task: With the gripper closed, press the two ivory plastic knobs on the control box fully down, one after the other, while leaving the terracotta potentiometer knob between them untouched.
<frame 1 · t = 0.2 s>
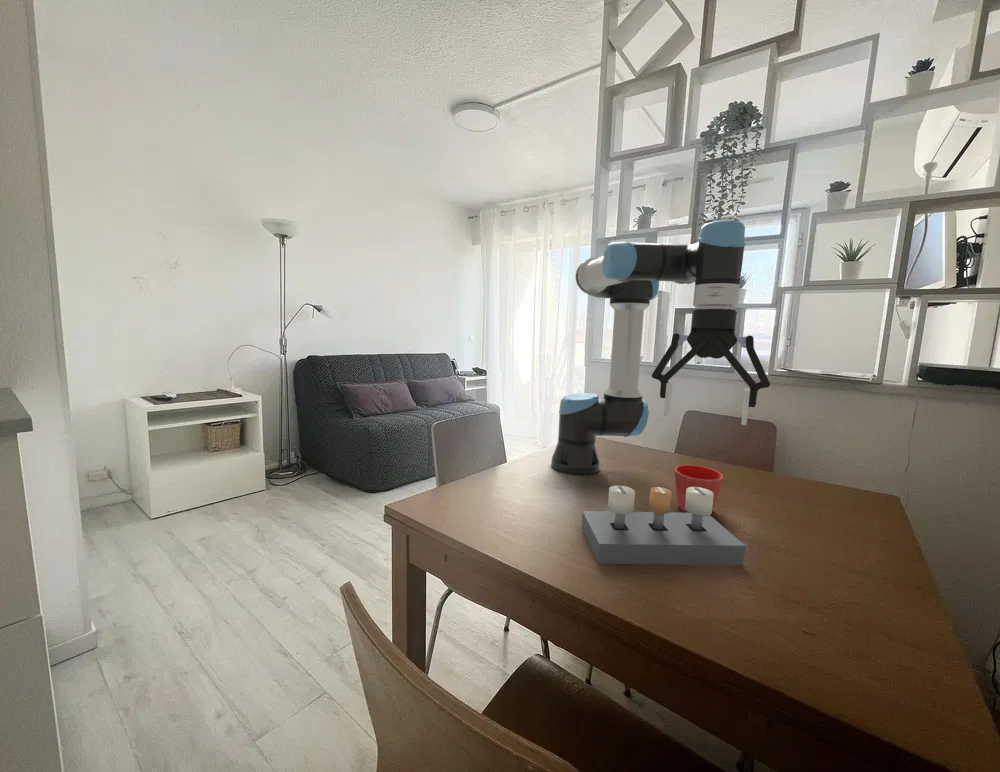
hand: (703, 419, 82), 27 cm above the table, fingers open, 13 cm apart
knob 2: (698, 509, 86), point 8 cm above the table, slide at 0.0 cm
flower pot: (694, 509, 105), on the table
knob 1: (620, 508, 85), point 8 cm above the table, slide at 0.0 cm
pot knob: (659, 508, 86), point 8 cm above the table, slide at 0.0 cm
control box: (656, 545, 87), on the table
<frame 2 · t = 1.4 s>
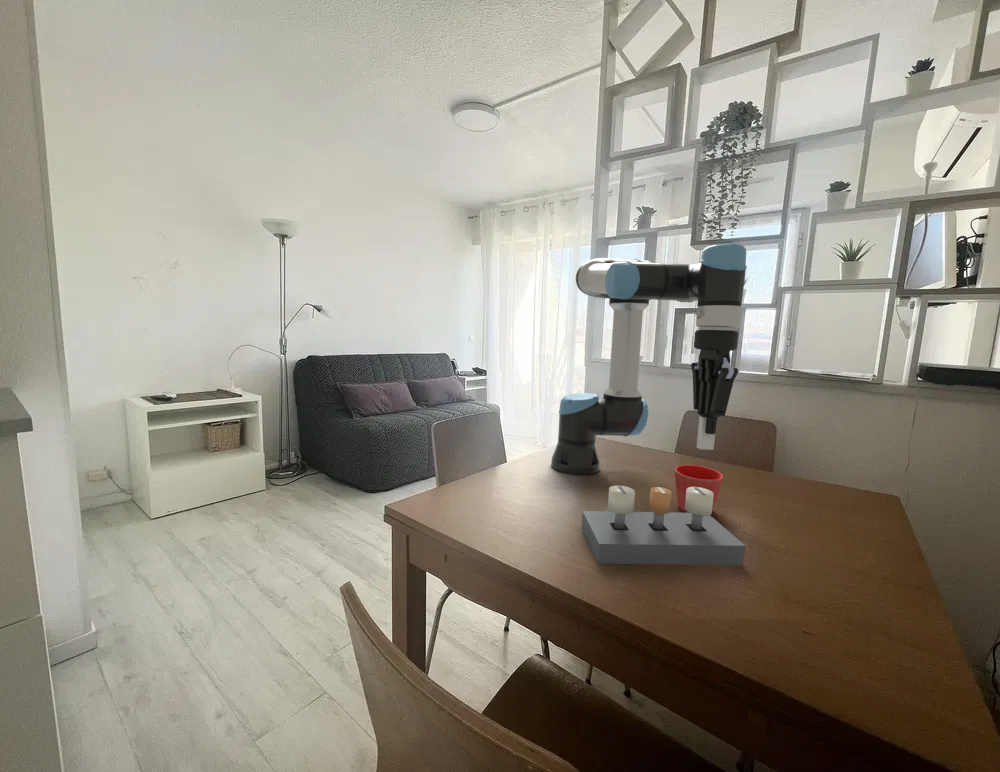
hand: (705, 448, 84), 21 cm above the table, fingers closed
nothing on the table moved.
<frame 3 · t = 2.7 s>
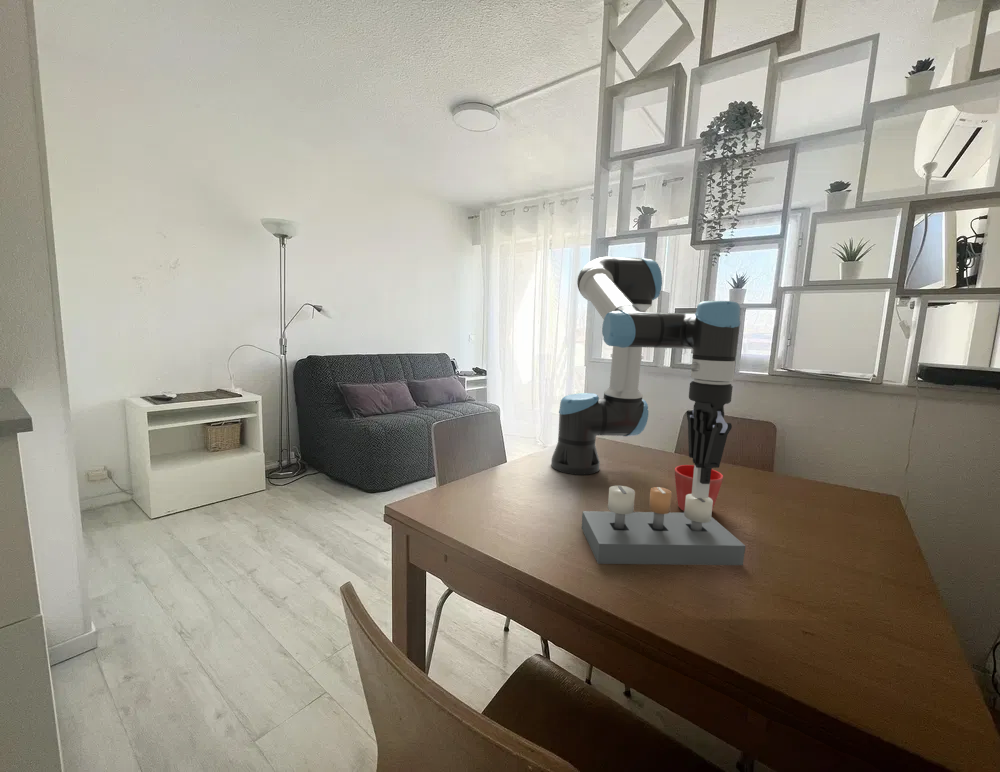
hand: (699, 496, 85), 11 cm above the table, fingers closed
knob 2: (697, 516, 86), point 7 cm above the table, slide at 1.5 cm, touching gripper
everything else where it was.
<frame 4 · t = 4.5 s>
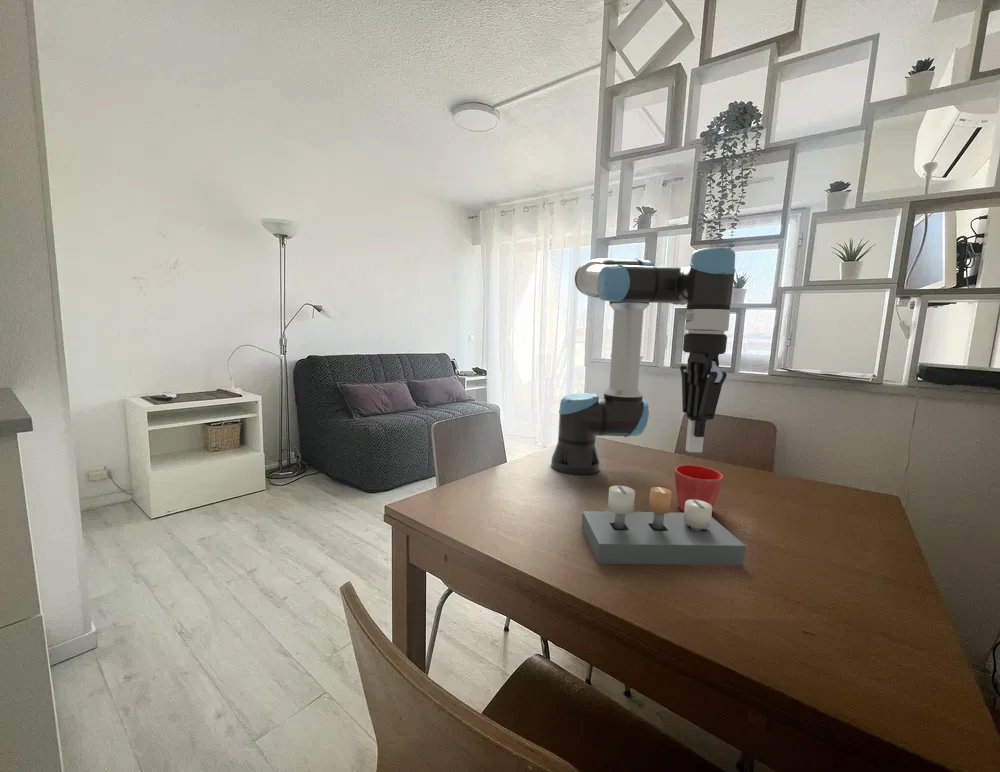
hand: (693, 451, 84), 20 cm above the table, fingers closed
knob 2: (696, 522, 86), point 5 cm above the table, slide at 2.8 cm
everything else where it was.
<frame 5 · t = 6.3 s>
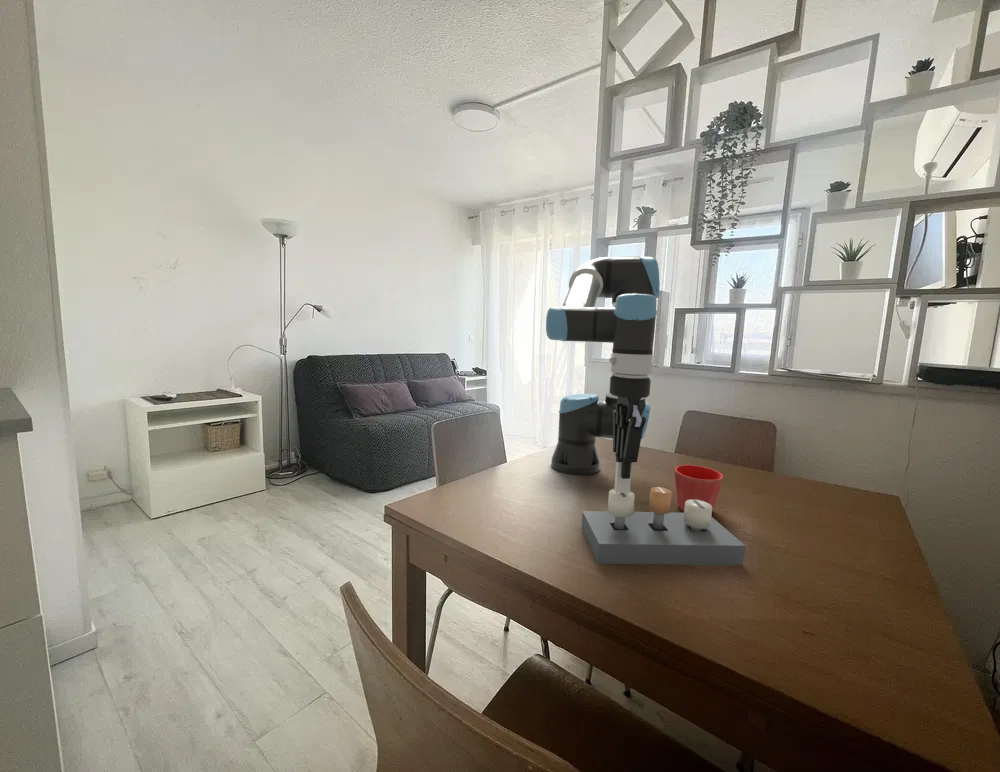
hand: (621, 491, 85), 12 cm above the table, fingers closed
knob 1: (620, 511, 85), point 7 cm above the table, slide at 0.7 cm, touching gripper
everything else where it was.
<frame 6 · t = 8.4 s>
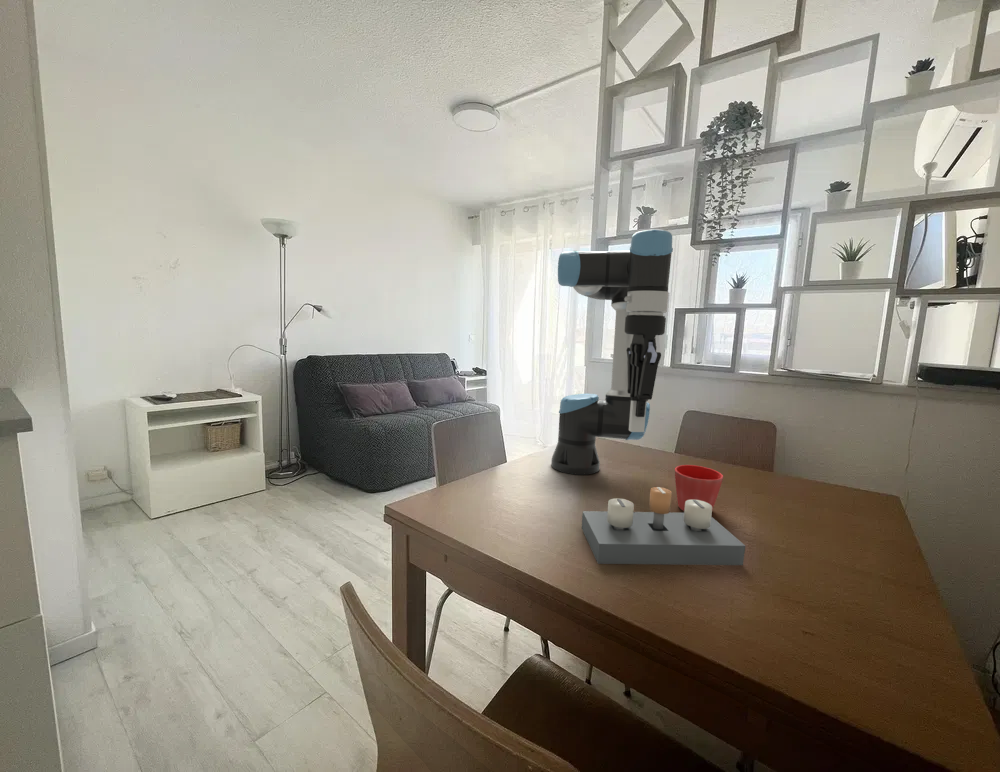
hand: (636, 430, 86), 23 cm above the table, fingers closed
knob 1: (619, 521, 86), point 5 cm above the table, slide at 2.8 cm
everything else where it was.
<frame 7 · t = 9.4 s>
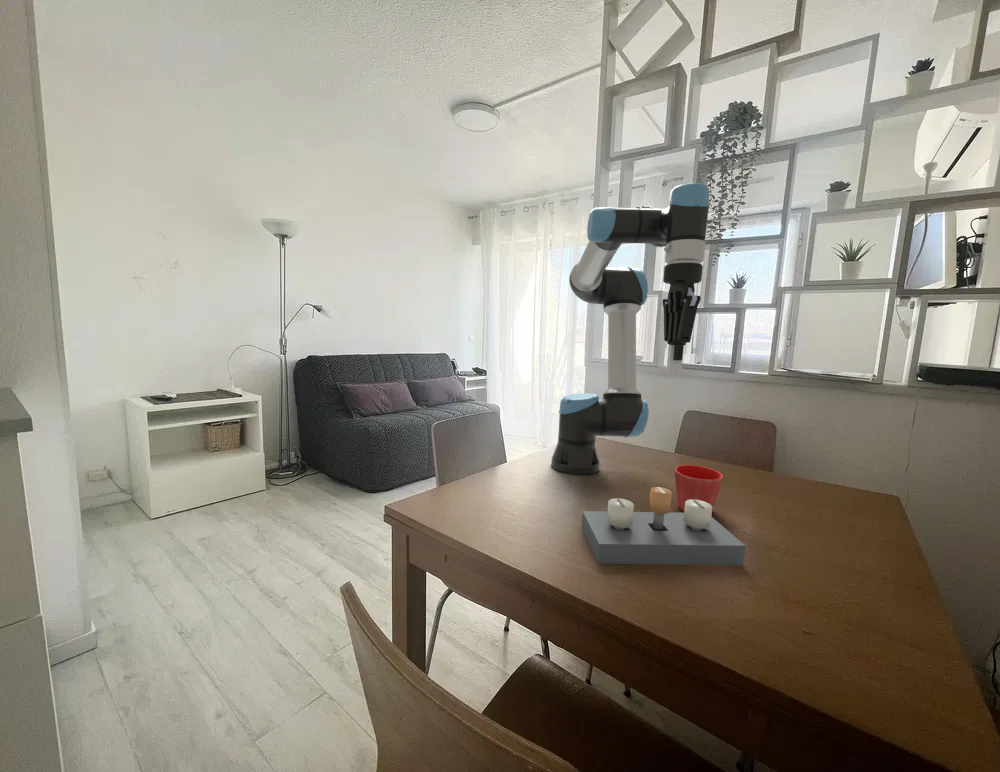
hand: (673, 374, 92), 34 cm above the table, fingers closed
nothing on the table moved.
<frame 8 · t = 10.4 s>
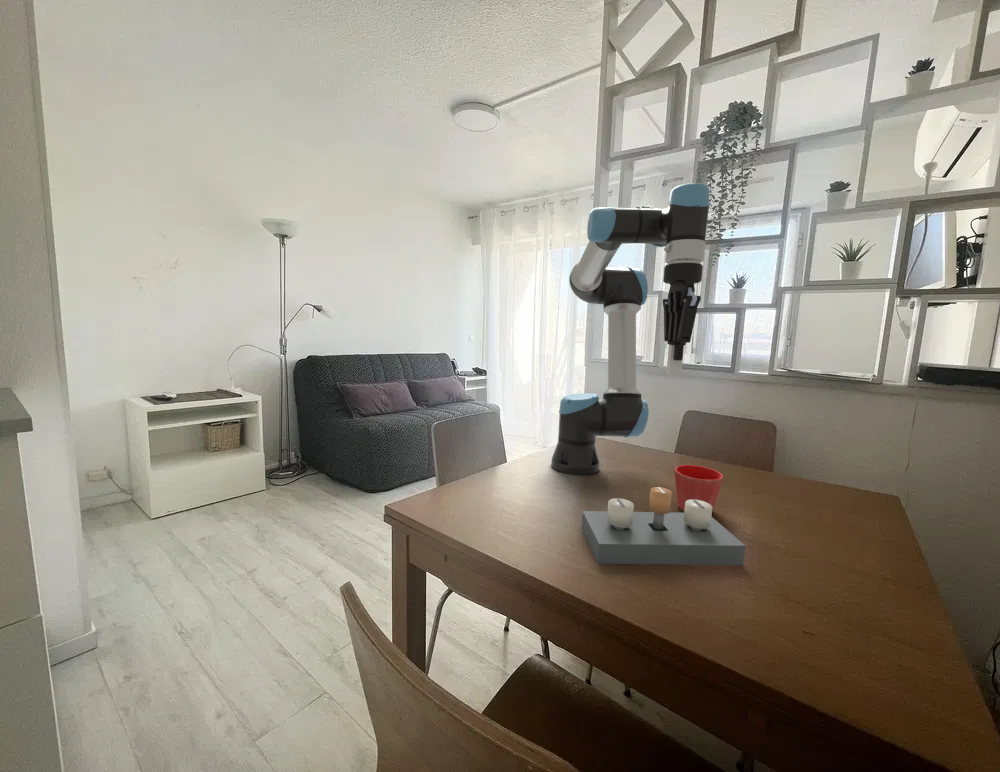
hand: (673, 374, 92), 34 cm above the table, fingers closed
nothing on the table moved.
at the end: knob 2 slide at 2.8 cm; knob 1 slide at 2.8 cm; pot knob slide at 0.0 cm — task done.
